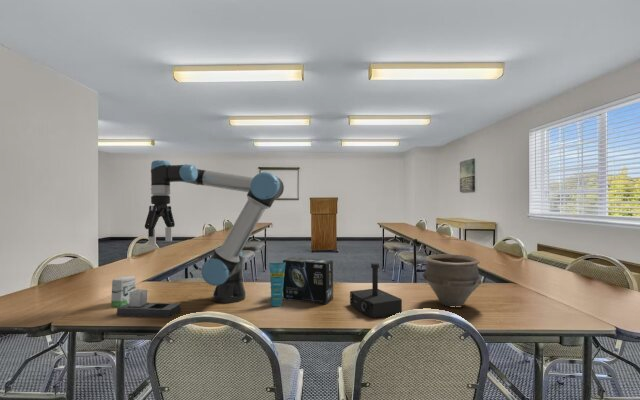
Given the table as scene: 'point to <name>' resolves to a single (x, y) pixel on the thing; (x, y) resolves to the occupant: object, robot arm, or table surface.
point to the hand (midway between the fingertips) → (160, 242)
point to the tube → (277, 282)
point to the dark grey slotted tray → (150, 310)
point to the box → (308, 280)
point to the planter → (452, 277)
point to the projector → (375, 299)
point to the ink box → (122, 290)
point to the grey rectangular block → (138, 298)
